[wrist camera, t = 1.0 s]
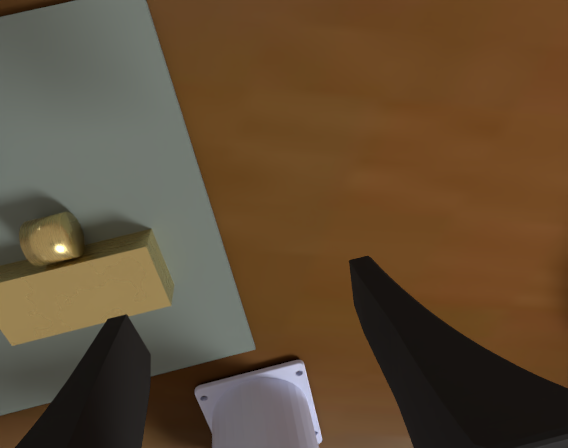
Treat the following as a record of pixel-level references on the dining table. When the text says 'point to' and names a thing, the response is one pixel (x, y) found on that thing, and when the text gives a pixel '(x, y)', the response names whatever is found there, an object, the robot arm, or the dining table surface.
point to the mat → (107, 182)
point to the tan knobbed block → (78, 279)
